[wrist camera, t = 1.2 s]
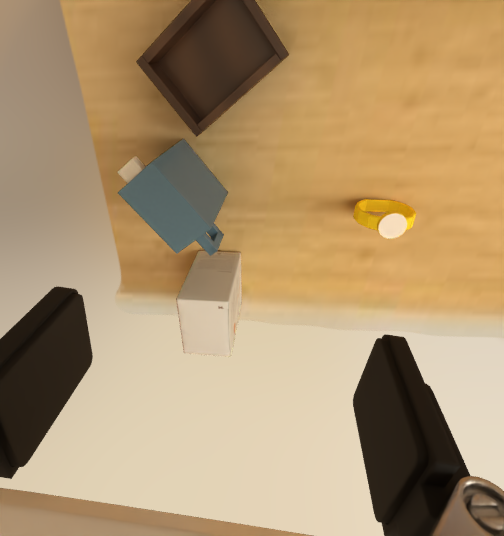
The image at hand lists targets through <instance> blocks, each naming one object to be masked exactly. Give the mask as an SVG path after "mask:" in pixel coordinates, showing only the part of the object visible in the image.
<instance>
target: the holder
mask: <svg viewBox="0 0 504 536" xmlns="http://www.w3.org/2000/svg"><path fill="white" fill-rule="evenodd" d="M287 56H289V53H288V52H287V50H286V49H285V47H284V46H283V44H282V42H281V41H280V39H279V38H278V36H277V34H276V33H275V31H274V30H273V28H272V27H271V25H270V23H269V22H268V20H267V19H266V17H265V15H264V14H263V12H262V11H261V9H260V8H259V6H258V4H257V3H256V1H255V0H191V1H190V3H189V4H188V5H187V6H186V7H185V8H184V9H183V10H182V11H181V13H180V14H179V15H178V16H177V17H176V18H175V19H174V20H173V21H172V23H171V24H170V25H169V26H168V27H167V28H166V29H165V30H164V31H163V33H162V34H161V35H160V36H159V37H158V38H157V39H156V40H155V41H154V43H153V44H152V45H151V46H150V47H149V48H148V49H147V50H146V51H145V53H144V54H143V55H142V56H141V57H140V58H139V59H138V60H137V61H136V62H137V64H138V65H139V66H140V67H141V69H142V70H143V71H144V72H145V73H146V75H147V76H148V77H149V78H150V80H151V81H152V82H153V83H154V85H155V86H156V87H157V88H158V90H159V91H160V92H161V93H162V95H163V96H164V97H165V98H166V99H167V101H168V102H169V103H170V104H171V106H172V107H173V108H174V109H175V111H176V112H177V113H178V114H179V116H180V117H181V118H182V119H183V121H184V122H185V123H186V124H187V125H188V127H189V128H190V129H191V130H192V132H193V133H194V134H195V135H196V136H198V135H199V134H201V133H202V132H203V131H204V130H205V129H206V128H208V127H209V126H210V125H211V124H212V123H213V122H214V121H215V120H217V119H218V118H219V117H220V116H221V115H222V114H223V113H224V112H226V111H227V110H228V109H229V108H230V107H231V106H232V105H233V104H235V103H236V102H237V101H238V100H239V99H240V98H241V97H242V96H244V95H245V94H246V93H247V92H248V91H249V90H250V89H251V88H253V87H254V86H255V85H256V84H257V83H258V82H259V81H260V80H262V79H263V78H264V77H265V76H266V75H267V74H268V73H269V72H271V71H272V70H273V69H274V68H275V67H276V66H277V65H278V64H280V63H281V62H282V61H283V60H284V59H285V58H286V57H287Z"/></svg>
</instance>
